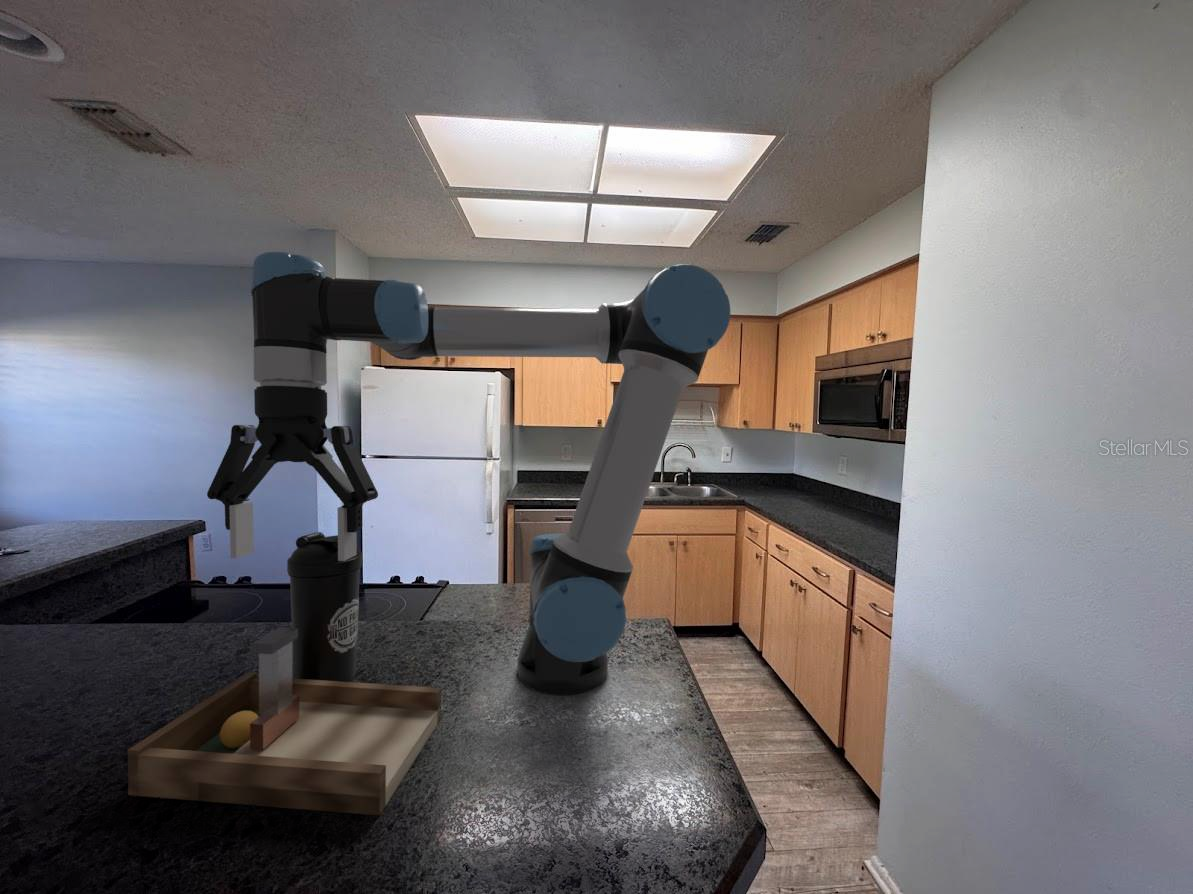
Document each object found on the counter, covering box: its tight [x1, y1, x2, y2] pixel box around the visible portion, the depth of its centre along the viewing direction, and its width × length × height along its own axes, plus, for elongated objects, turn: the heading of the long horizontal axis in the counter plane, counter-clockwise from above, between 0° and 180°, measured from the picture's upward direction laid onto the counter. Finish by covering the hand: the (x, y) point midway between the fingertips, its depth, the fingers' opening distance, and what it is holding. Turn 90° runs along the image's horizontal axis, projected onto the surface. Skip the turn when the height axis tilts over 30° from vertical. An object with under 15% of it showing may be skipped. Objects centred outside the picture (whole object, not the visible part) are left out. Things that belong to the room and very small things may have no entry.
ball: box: [220, 711, 258, 748], centre depth 58 cm, size 4×4×4 cm
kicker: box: [250, 626, 299, 750], centre depth 57 cm, size 2×6×12 cm, turn 176°
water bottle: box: [286, 531, 363, 682], centre depth 73 cm, size 10×10×23 cm
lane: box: [127, 671, 442, 816], centre depth 57 cm, size 28×16×5 cm, turn 86°
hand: (294, 556), depth 58 cm, fingers open, 13 cm apart
